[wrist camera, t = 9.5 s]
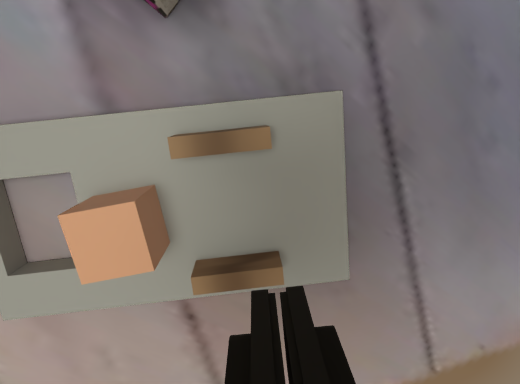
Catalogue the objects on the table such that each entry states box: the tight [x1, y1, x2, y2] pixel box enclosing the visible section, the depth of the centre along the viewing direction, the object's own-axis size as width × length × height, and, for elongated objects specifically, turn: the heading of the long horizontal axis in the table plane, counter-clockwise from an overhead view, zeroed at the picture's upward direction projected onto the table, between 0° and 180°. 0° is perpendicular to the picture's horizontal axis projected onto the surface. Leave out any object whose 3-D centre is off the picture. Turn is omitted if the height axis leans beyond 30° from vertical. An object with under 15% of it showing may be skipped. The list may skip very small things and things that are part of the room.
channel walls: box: [167, 125, 284, 295], centre depth 25 cm, size 7×12×3 cm, turn 6°
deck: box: [0, 90, 350, 321], centre depth 28 cm, size 30×16×2 cm, turn 96°
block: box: [58, 185, 170, 285], centre depth 24 cm, size 5×5×5 cm
